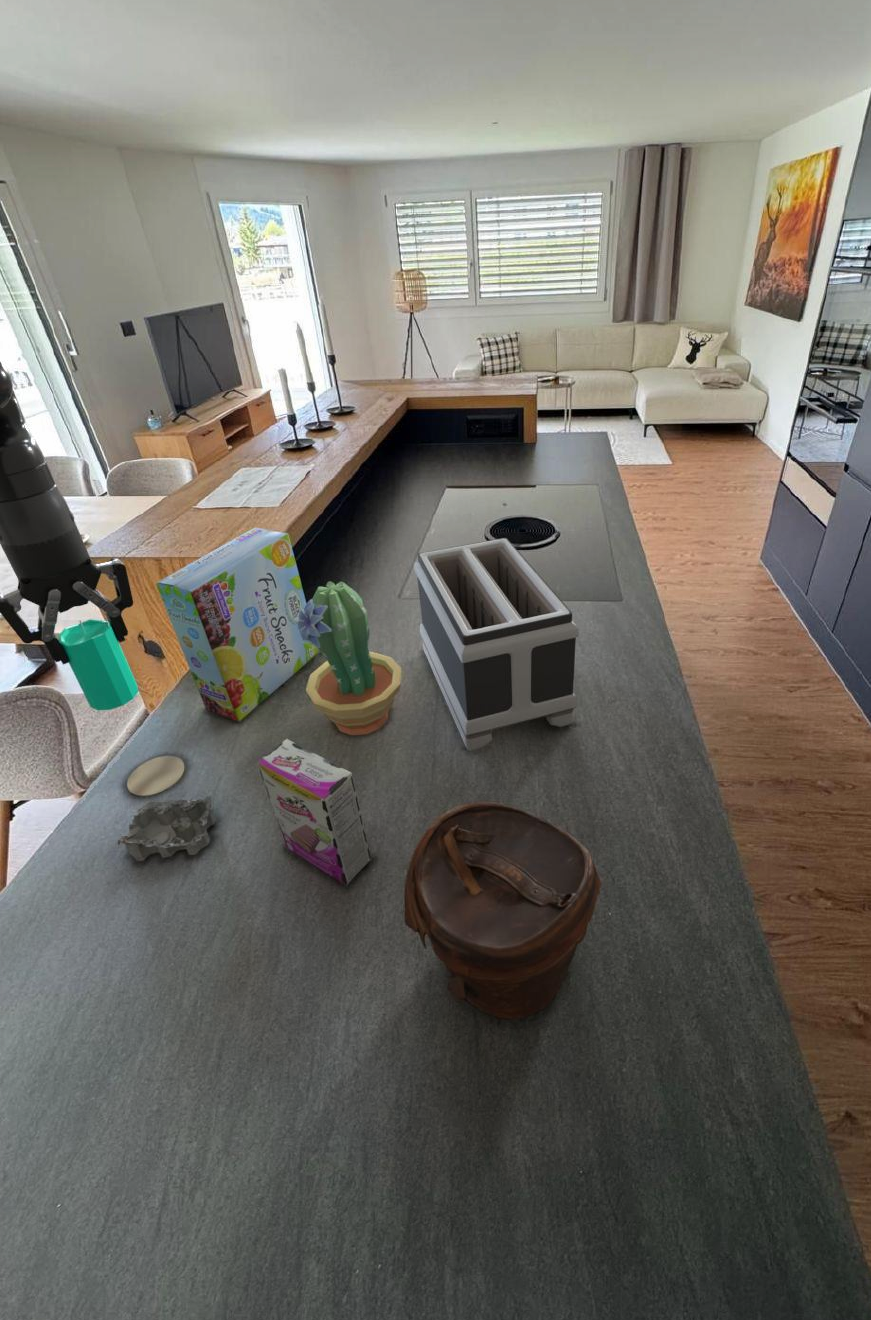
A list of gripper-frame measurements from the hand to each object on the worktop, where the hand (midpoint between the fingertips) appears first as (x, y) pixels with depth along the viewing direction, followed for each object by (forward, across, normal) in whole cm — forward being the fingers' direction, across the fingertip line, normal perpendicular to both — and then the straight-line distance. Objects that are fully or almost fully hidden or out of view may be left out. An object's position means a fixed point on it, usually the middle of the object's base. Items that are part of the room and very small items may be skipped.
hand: (93, 649), depth 79 cm
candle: (+8, 0, 0) cm, 8 cm away
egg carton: (+25, +1, +11) cm, 28 cm away
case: (+25, -19, +54) cm, 63 cm away
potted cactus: (+25, -30, +9) cm, 40 cm away
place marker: (+25, -1, -2) cm, 25 cm away
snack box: (+25, -23, -12) cm, 36 cm away
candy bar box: (+25, -12, +29) cm, 40 cm away
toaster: (+25, -52, +17) cm, 60 cm away
